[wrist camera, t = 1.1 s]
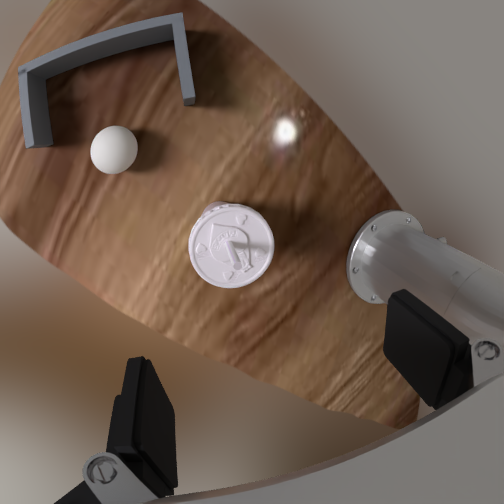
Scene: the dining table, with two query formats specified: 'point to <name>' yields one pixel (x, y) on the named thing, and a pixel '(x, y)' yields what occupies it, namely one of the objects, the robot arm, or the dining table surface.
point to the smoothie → (230, 245)
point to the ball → (114, 149)
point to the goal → (88, 51)
